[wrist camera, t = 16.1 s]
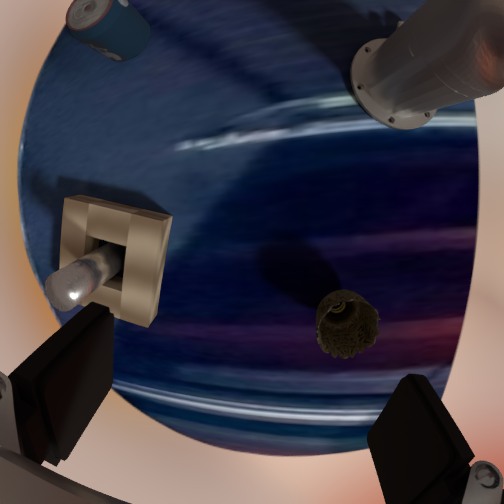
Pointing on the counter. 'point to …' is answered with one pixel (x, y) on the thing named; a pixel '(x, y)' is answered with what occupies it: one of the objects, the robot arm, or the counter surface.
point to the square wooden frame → (137, 252)
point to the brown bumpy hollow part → (346, 324)
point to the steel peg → (84, 276)
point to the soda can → (109, 27)
